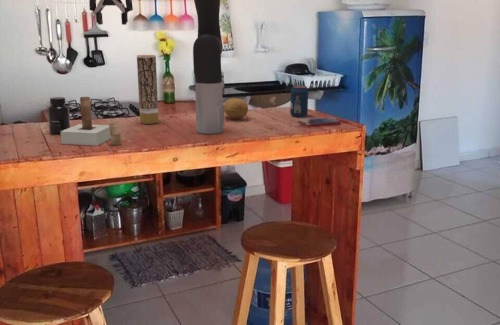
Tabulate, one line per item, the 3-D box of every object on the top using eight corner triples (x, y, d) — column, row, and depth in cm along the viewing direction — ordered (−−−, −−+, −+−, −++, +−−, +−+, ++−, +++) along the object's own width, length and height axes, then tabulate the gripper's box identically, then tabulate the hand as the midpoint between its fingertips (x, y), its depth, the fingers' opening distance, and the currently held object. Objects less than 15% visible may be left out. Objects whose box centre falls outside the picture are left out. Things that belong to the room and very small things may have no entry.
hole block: (113, 137, 175) (112, 125, 174) (97, 145, 164) (96, 133, 162) (80, 135, 177) (79, 123, 176) (61, 143, 166) (60, 131, 165)
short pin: (122, 143, 166) (120, 121, 165) (117, 145, 164) (115, 123, 162) (114, 142, 167) (112, 121, 165) (109, 145, 165) (107, 123, 163)
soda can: (303, 114, 216) (304, 85, 213) (309, 117, 210) (311, 87, 207) (287, 115, 215) (288, 85, 211) (293, 118, 208) (294, 88, 205)
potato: (242, 114, 215) (242, 95, 213) (252, 121, 202) (253, 100, 200) (219, 116, 212) (218, 96, 210) (228, 122, 199) (228, 101, 197)
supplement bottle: (51, 135, 177) (47, 100, 174) (48, 131, 183) (45, 97, 180) (72, 133, 180) (69, 98, 177) (69, 129, 186) (66, 95, 183)
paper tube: (154, 125, 194) (151, 56, 187) (137, 124, 195) (133, 55, 189) (161, 121, 201) (158, 54, 194) (144, 120, 202) (141, 54, 195)
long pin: (94, 139, 171) (91, 96, 168) (90, 141, 169) (87, 98, 165) (86, 139, 172) (82, 96, 168) (81, 141, 169) (78, 98, 165)
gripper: (133, -27, 174) (136, 24, 178) (93, -26, 176) (97, 24, 181) (124, -28, 167) (127, 25, 171) (83, -28, 169) (87, 24, 174)
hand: (112, 24), depth 176 cm, fingers open, 8 cm apart
